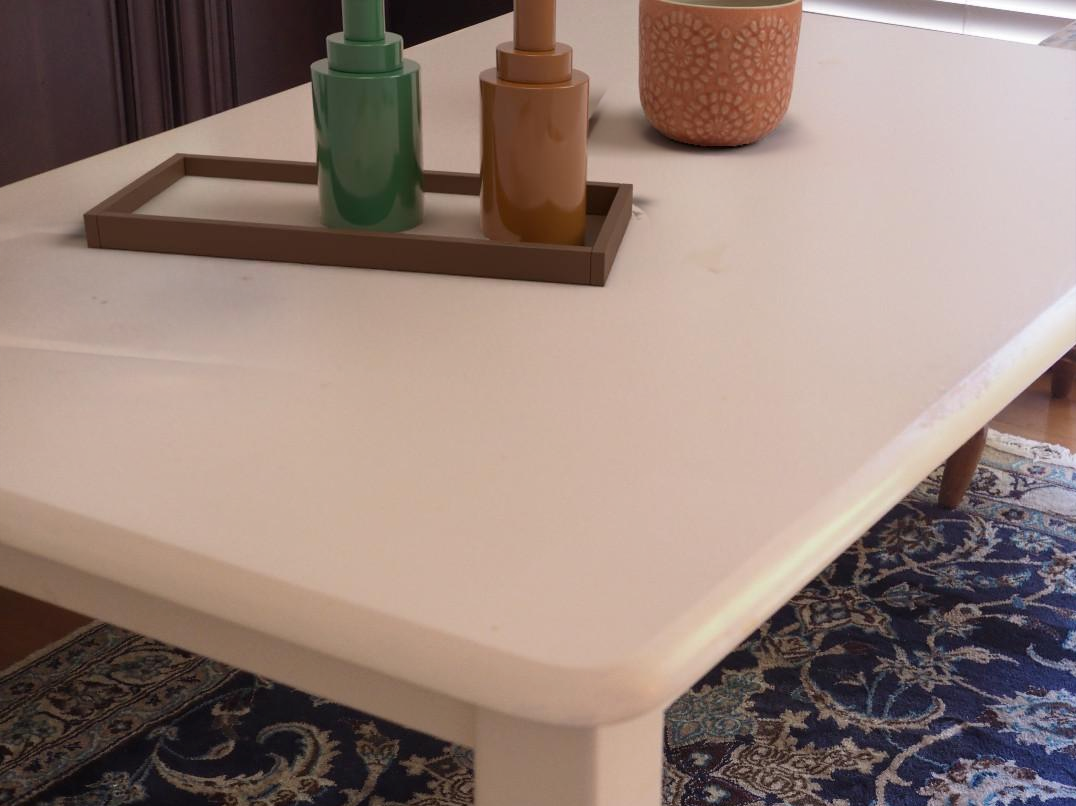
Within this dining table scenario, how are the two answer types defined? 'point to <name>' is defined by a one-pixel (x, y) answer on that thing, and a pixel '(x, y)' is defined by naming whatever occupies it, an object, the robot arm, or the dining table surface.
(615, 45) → the dining table surface
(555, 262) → the tray
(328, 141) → the green bottle
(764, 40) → the planter
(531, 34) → the amber bottle
